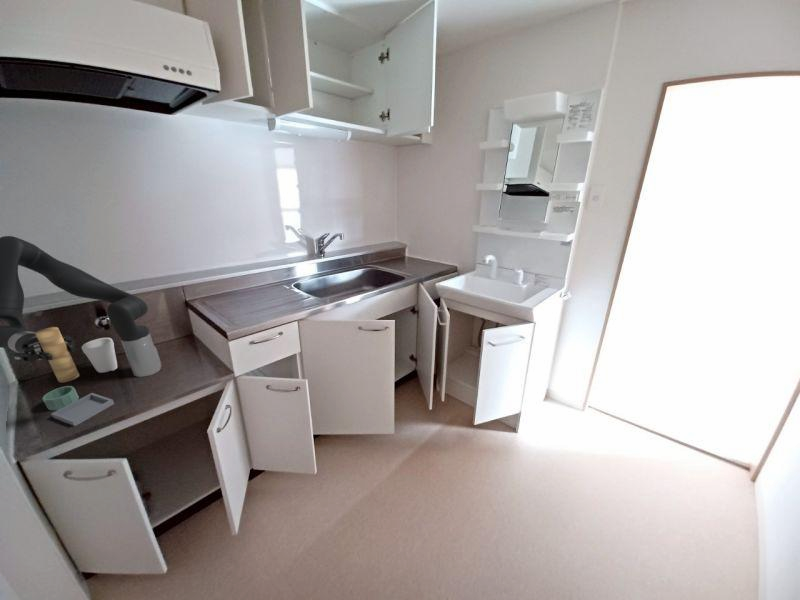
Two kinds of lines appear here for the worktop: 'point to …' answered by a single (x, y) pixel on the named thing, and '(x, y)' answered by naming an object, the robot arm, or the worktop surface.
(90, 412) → the tray
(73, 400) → the holder pot
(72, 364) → the wooden dowel
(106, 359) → the foam cup
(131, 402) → the worktop surface
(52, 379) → the worktop surface
